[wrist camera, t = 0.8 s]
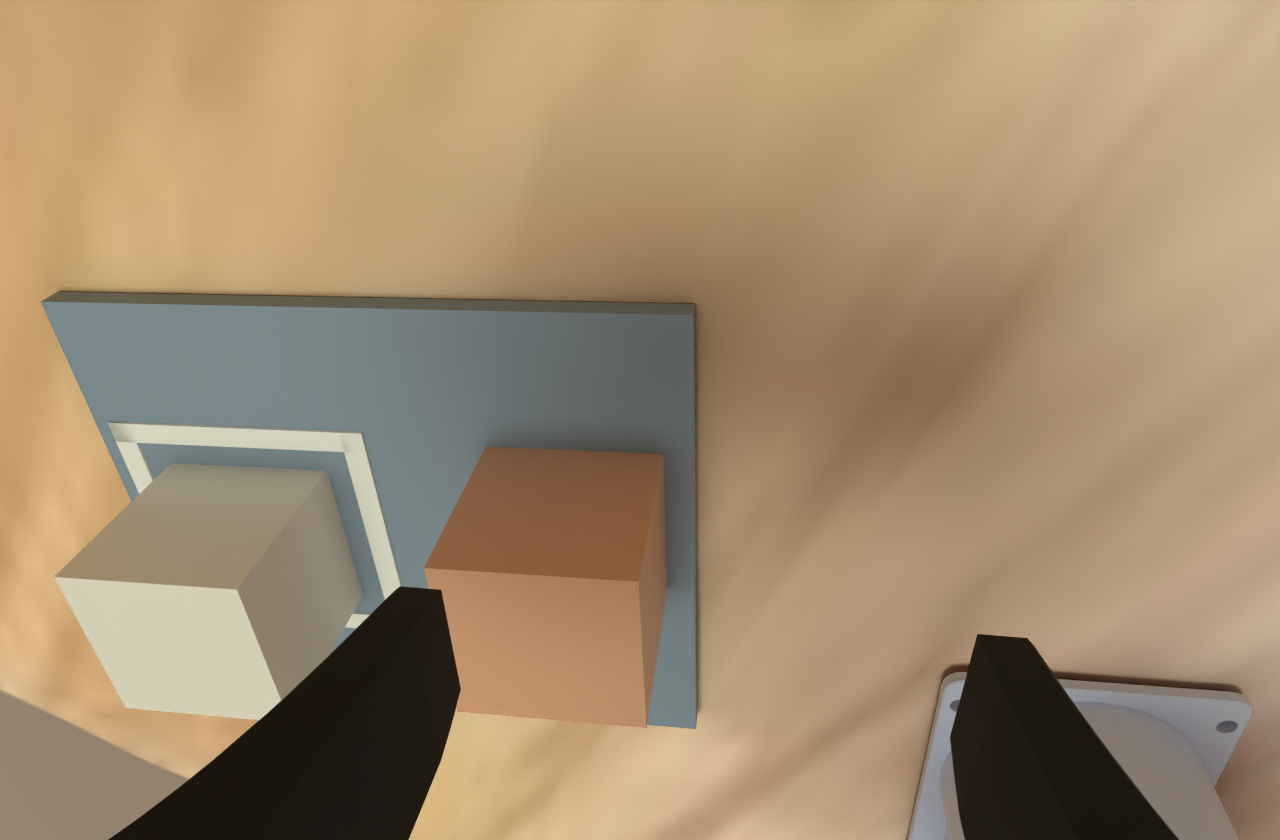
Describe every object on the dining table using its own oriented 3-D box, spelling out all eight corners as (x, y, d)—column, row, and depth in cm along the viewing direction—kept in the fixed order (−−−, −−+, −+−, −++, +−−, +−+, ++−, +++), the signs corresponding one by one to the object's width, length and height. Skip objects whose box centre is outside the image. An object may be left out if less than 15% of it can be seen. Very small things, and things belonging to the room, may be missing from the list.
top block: (667, 589, 23) (646, 727, 19) (507, 579, 24) (457, 711, 20) (663, 454, 21) (638, 581, 17) (485, 446, 21) (423, 567, 18)
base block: (363, 595, 25) (290, 722, 21) (221, 585, 26) (126, 707, 22) (326, 470, 22) (237, 589, 19) (171, 462, 23) (54, 576, 19)
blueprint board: (697, 712, 27) (695, 731, 26) (225, 673, 29) (214, 690, 28) (694, 303, 19) (692, 317, 19) (58, 291, 21) (37, 303, 21)
